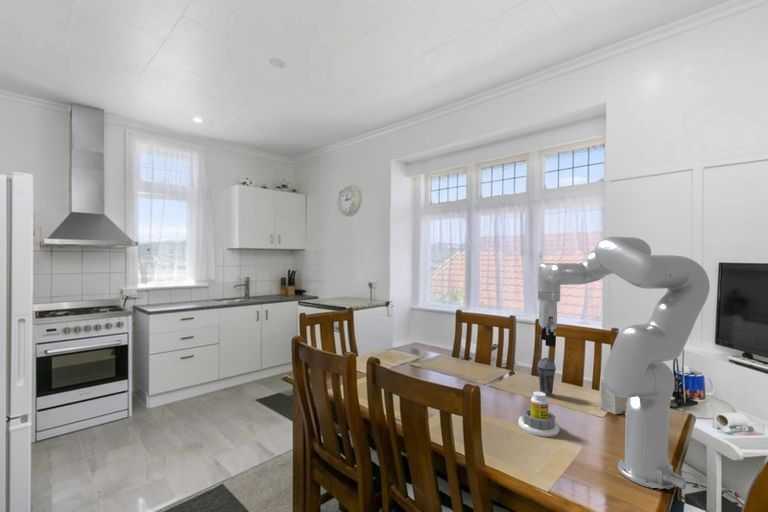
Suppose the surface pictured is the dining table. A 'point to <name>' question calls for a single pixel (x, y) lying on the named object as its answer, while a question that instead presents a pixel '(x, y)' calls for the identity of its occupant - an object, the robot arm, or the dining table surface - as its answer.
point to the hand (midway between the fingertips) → (548, 342)
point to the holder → (538, 424)
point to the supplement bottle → (539, 406)
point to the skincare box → (610, 399)
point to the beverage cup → (546, 375)
